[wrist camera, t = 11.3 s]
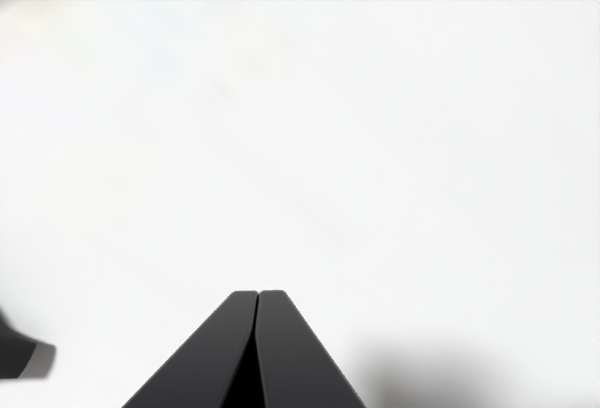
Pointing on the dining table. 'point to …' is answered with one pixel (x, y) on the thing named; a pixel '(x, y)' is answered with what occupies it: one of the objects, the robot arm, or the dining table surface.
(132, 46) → the dining table surface
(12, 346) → the duct tape
